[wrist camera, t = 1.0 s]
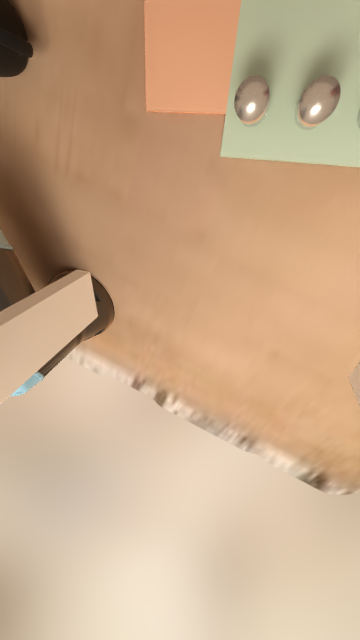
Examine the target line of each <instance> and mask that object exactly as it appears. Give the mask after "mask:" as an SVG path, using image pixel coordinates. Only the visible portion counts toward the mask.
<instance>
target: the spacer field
mask: <svg viewBox="0 0 360 640" xmlns="http://www.w3.org/2000/svg"><path fill="white" fill-rule="evenodd" d="M253 75H258V76H261V77H263V78H264V79H265V80H266V82H267V84H268V87H269V109H268V113H267V115H266V117H265V119H264V120H263V121H262V122H261V123H260V124H259V125H257V126H255V127H246V126H245V125H243V124H242V122H241V121H240V119H239V117H238V116H237V114H236V112H235V108H234V99H235V94H236V92H237V89H238V87H239V86H240V84H241V83H242V82H243V81H244V80H245V79H246V78H248V77H250V76H253ZM324 75H330V76H333V77H335V78H336V79H337V80H338V82H339V84H340V88H341V94H340V99H339V102H338V105H337V107H336V108H335V110H334V111H333V113H332V114H331V115H330V116H329V117H328V118H327V119H326V120H324V121H323V122H322V123H321V124H319V125H318V126H317V127H315V128H313V129H310V130H303V129H301V128H299V127H298V125H297V124H296V121H295V111H296V107H297V105H298V103H299V101H300V99H301V97H302V94H303V93H304V91H305V89H306V88H307V86H308V85H309V84H310V83H311V82H312V81H313V80H315V79H316V78H318V77H320V76H324ZM359 110H360V0H241V7H240V14H239V21H238V29H237V36H236V43H235V51H234V58H233V65H232V73H231V80H230V87H229V95H228V102H227V109H226V116H225V124H224V131H223V138H222V146H221V153H220V157H232V158H245V159H258V160H271V161H284V162H297V163H310V164H323V165H336V166H349V167H360V129H359V127H358V125H357V116H358V113H359Z"/></svg>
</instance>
